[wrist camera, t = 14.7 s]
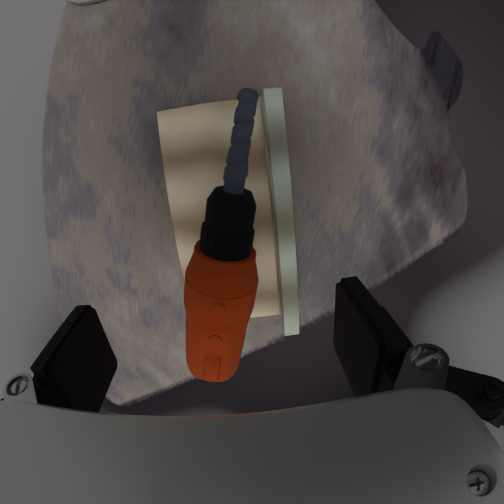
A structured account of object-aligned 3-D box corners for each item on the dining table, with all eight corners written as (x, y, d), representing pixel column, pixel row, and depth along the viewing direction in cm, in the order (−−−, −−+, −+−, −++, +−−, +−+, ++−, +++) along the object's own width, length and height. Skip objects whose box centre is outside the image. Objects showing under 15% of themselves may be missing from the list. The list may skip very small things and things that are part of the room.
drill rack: (162, 114, 26) (143, 106, 20) (274, 99, 26) (284, 87, 20) (195, 313, 33) (189, 345, 28) (291, 303, 33) (301, 333, 28)
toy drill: (275, 103, 23) (317, 95, 9) (242, 289, 31) (243, 412, 18) (217, 95, 22) (183, 75, 9) (196, 284, 31) (172, 404, 17)
